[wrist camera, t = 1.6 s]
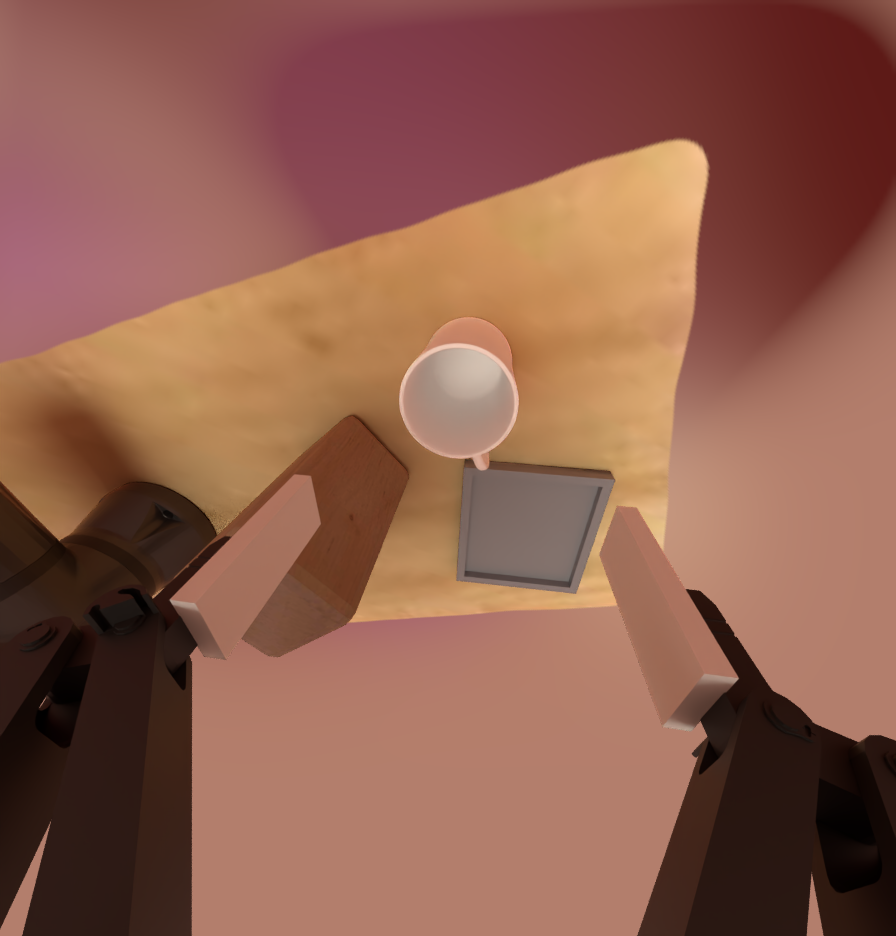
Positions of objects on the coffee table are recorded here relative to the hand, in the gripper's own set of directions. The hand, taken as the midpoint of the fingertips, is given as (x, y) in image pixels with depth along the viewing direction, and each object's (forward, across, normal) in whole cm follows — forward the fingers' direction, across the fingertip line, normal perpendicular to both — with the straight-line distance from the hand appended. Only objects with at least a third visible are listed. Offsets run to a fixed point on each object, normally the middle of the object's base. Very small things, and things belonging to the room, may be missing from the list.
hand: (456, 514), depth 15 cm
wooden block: (+22, -14, -11) cm, 28 cm away
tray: (+22, +7, -18) cm, 29 cm away
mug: (+22, -1, 0) cm, 22 cm away
